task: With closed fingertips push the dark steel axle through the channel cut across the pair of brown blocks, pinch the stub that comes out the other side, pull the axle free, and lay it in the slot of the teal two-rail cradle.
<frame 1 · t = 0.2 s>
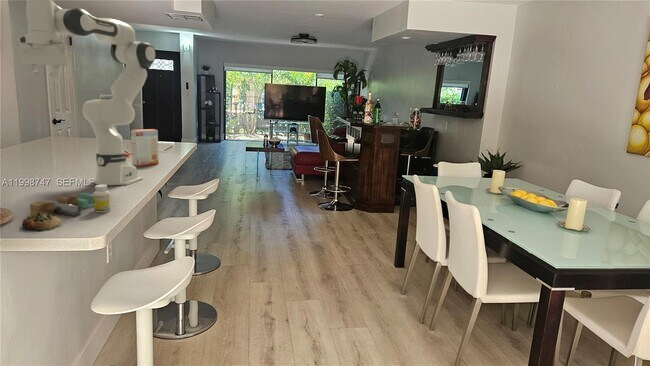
hand: (44, 77, 164), 48 cm above the table, tool pointing down, fingers open, 8 cm apart
supplement bottle: (102, 211, 159), on the table
cradle: (83, 204, 165), on the table
cracker box: (145, 165, 252), on the table
pair of brown blocks: (55, 211, 154), on the table
axle: (64, 213, 153), on the table
bread roll: (43, 227, 139), on the table
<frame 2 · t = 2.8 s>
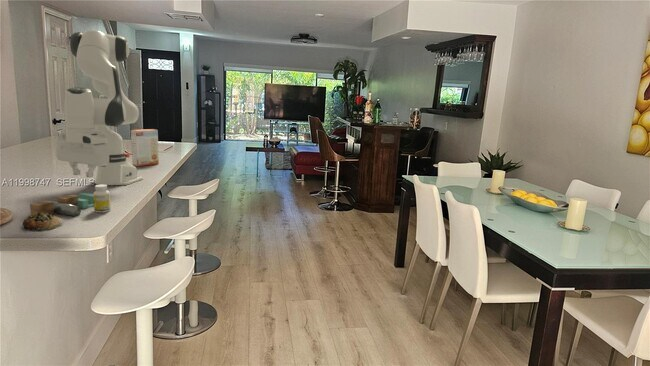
hand: (83, 175, 147), 15 cm above the table, tool pointing down, fingers open, 4 cm apart
nothing on the table moved.
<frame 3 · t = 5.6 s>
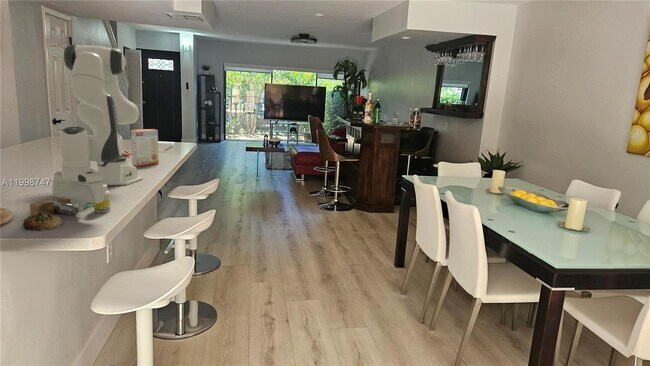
hand: (78, 211, 151), 2 cm above the table, tool pointing down, fingers closed
axle: (62, 212, 153), on the table, tilted 7°, touching gripper
everything else where it was.
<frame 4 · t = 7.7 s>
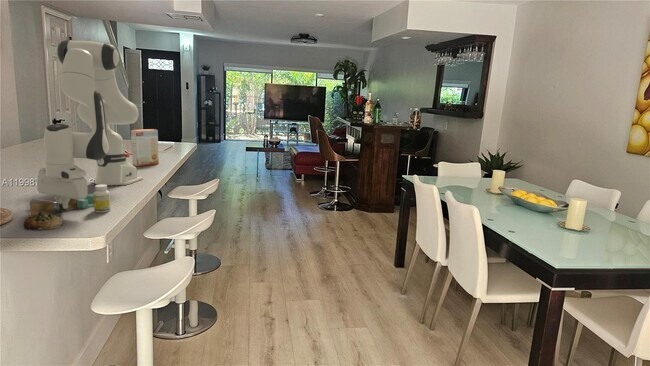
hand: (63, 207, 153), 2 cm above the table, tool pointing down, fingers closed
axle: (47, 210, 155), on the table, tilted 11°, touching gripper
everything else where it was.
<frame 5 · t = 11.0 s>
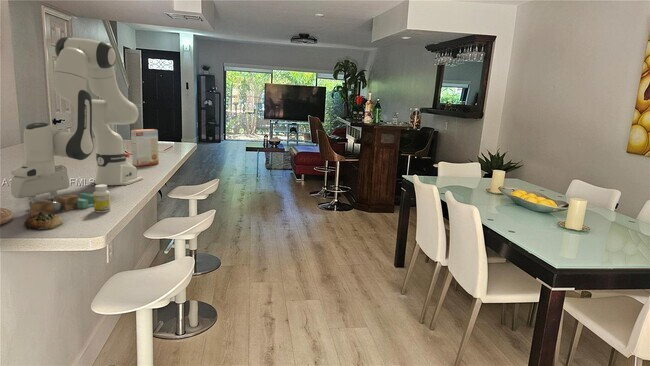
hand: (43, 204, 156), 2 cm above the table, tool pointing down, fingers open, 5 cm apart
nothing on the table moved.
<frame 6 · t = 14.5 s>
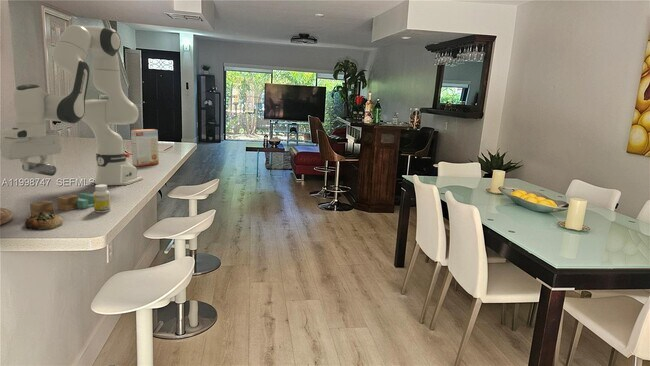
hand: (34, 168, 154), 15 cm above the table, tool pointing down, fingers closed on axle, 4 cm apart
axle: (39, 173, 154), point 13 cm above the table, touching gripper
everything else where it was.
when the fingers open (4 cm above the table, at t = 17.7 s): axle drops 1 cm, resting on cradle.
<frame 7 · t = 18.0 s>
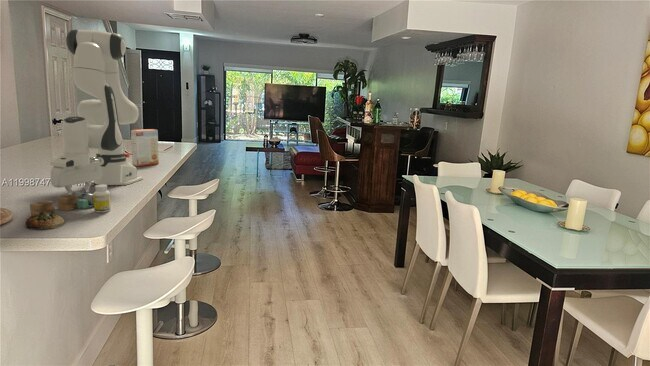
hand: (78, 194, 165), 4 cm above the table, tool pointing down, fingers open, 5 cm apart
axle: (83, 202, 165), point 1 cm above the table, touching cradle
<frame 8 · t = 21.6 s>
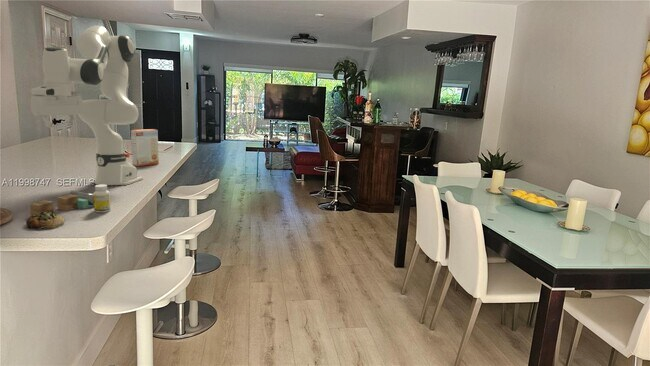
hand: (60, 126, 165), 29 cm above the table, tool pointing down, fingers open, 8 cm apart
axle: (83, 202, 165), point 1 cm above the table, tilted 11°, touching cradle
at the end: axle inside the target area on the cradle (0.1 cm from its centre), point 0.6 cm above the cradle's base; the gripper is holding nothing; axle moved 12.8 cm from its start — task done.
